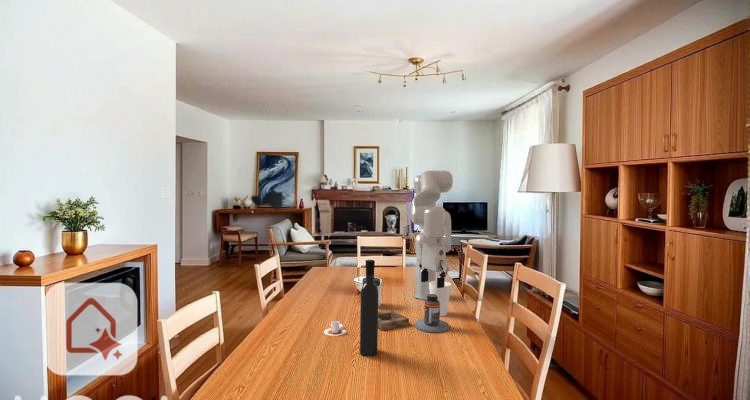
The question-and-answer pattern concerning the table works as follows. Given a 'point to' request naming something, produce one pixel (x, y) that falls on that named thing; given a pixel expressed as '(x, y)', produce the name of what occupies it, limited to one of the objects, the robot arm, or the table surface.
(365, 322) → the wine bottle
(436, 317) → the supplement bottle
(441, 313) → the foam cup
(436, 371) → the table surface
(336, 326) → the teacup and saucer
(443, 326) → the slate mat
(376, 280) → the jar
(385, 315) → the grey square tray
